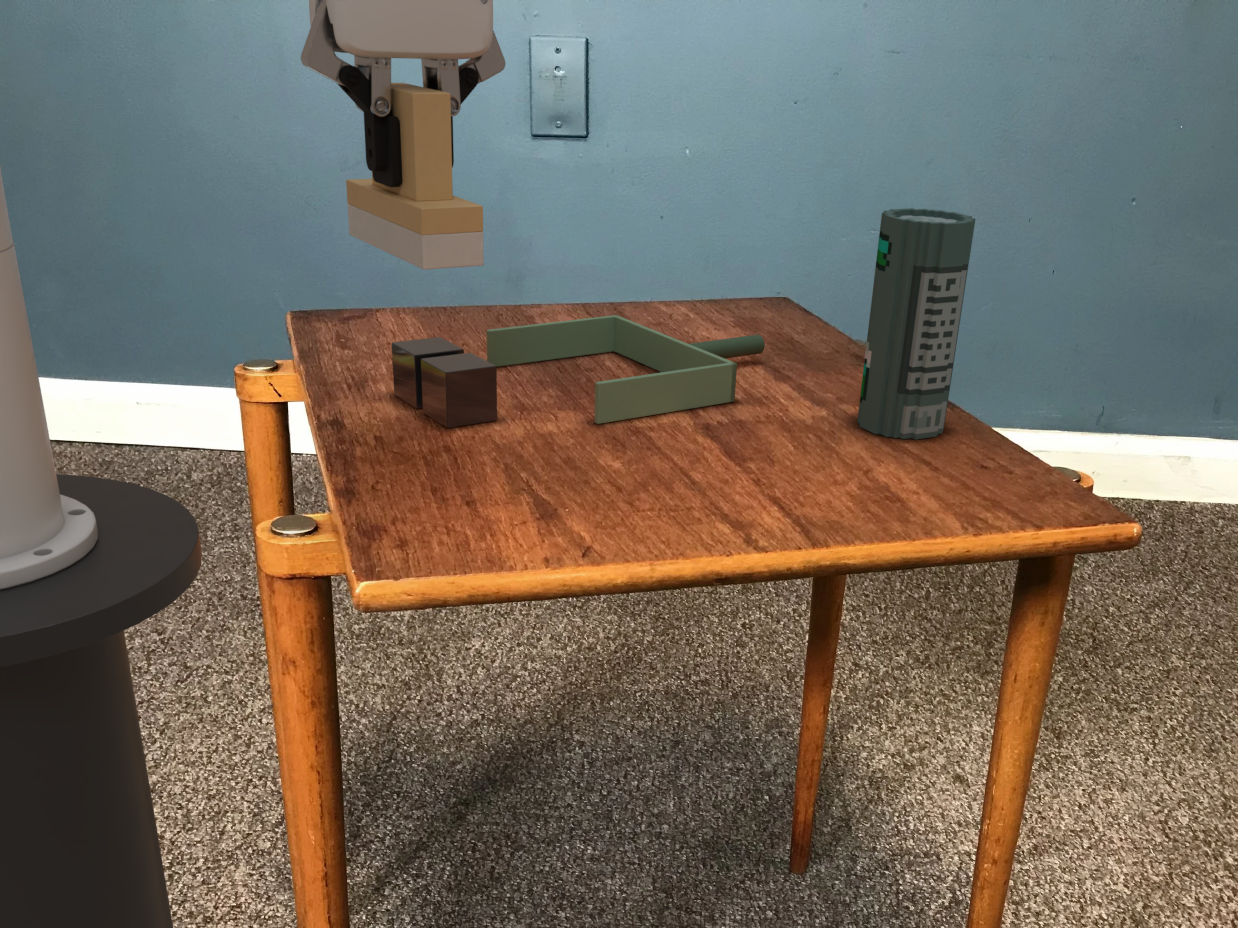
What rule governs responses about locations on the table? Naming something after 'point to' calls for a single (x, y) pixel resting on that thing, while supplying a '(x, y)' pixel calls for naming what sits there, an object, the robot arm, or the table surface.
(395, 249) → the wooden block stamp
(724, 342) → the green u-shaped rake
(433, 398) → the black cube
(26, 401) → the robot arm
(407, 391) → the black metallic cube
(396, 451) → the table surface
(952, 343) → the can
